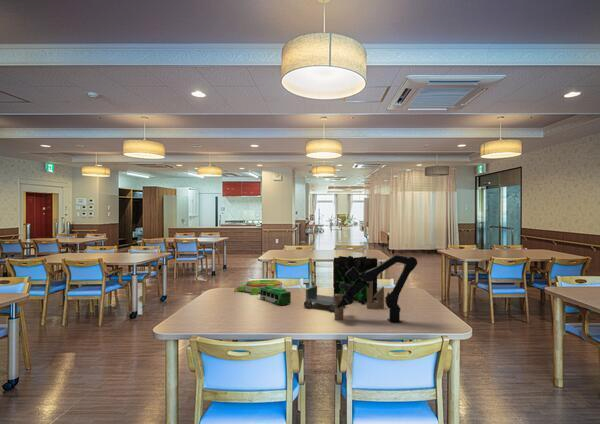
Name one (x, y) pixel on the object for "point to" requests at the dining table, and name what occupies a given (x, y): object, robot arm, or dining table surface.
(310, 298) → the trolley
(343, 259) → the decorative plant
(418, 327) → the dining table surface
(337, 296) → the brown rectangular pillar
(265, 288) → the toy bus
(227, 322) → the dining table surface
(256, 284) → the green piece
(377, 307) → the wooden block
